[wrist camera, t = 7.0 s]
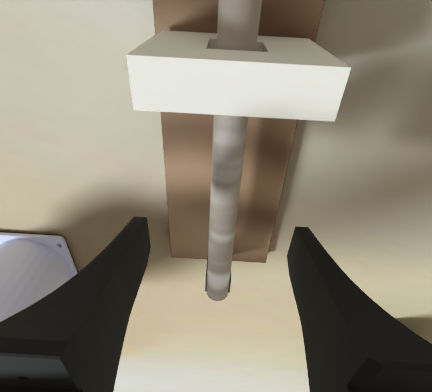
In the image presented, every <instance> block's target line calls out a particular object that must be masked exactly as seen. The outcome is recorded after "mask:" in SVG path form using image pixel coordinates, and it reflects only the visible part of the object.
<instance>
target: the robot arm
mask: <svg viewBox="0 0 432 392" xmlns="http://www.w3.org/2000/svg"><path fill="white" fill-rule="evenodd" d="M150 248H151V247H150V239H149V231H148V223H147V218H145V217H133V218H132V219H131V221H130V222H129V223H128V224H127V225H126V226H125V227H124V229H123V230H122V231H121V232H120V233H119V234H118V235H117V236H116V238H115V239H114V240H113V241H112V242H111V243H110V244H109V245H108V246H107V247H106V248H105V249H104V250H103V251H102V252H101V253H100V254H99V255H98V256H97V257H96V258H95V259H94V260H92V261H91V262H90V263H89V264H88V265H87V266H86V267H84V268H83V269H82V270H81V271H80V272H78V273H77V270H76V268H75V265H74V262H73V260H72V257H71V254H70V252H69V249H68V247H67V244H66V241H65V239H64V238H63V237H61V236H54V235H37V234H20V233H3V232H0V392H113V390H114V385H115V379H116V375H117V370H118V365H119V360H120V355H121V351H122V346H123V342H124V337H125V333H126V329H127V325H128V321H129V317H130V313H131V310H132V307H133V304H134V301H135V298H136V295H137V292H138V290H139V287H140V284H141V281H142V278H143V275H144V272H145V269H146V266H147V262H148V257H149V252H150ZM287 259H288V268H289V275H290V280H291V284H292V288H293V292H294V296H295V300H296V304H297V308H298V312H299V316H300V320H301V325H302V331H303V338H304V345H305V353H306V361H307V369H308V378H309V387H310V392H432V344H431V343H429V342H428V341H426V340H425V339H423V338H422V337H420V336H418V335H417V334H415V333H414V332H413V331H411V330H410V329H408V328H407V327H406V326H404V325H403V324H402V323H400V322H399V321H397V320H396V319H395V318H394V317H392V316H391V315H390V314H388V313H387V312H386V311H385V310H383V309H382V308H381V307H380V306H379V305H378V304H376V303H375V302H374V301H373V300H372V299H371V298H369V297H368V296H367V295H366V294H365V293H364V292H363V291H362V290H361V289H360V288H359V287H358V286H357V285H356V284H355V283H354V282H353V281H352V280H351V279H350V278H349V277H348V276H347V275H346V274H345V273H344V272H343V271H342V269H341V268H340V267H339V266H338V265H337V264H336V262H335V261H334V260H333V259H332V258H331V256H330V255H329V254H328V253H327V251H326V250H325V249H324V248H323V246H322V245H321V244H320V242H319V241H318V240H317V238H316V237H315V236H314V234H313V233H312V232H311V230H310V229H309V228H308V227H295V230H294V234H293V237H292V240H291V244H290V247H289V251H288V254H287Z"/></svg>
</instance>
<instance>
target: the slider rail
mask: <svg viewBox="0 0 432 392" xmlns="http://www.w3.org/2000/svg"><path fill="white" fill-rule="evenodd" d="M323 4H324V0H153V11H154V25H155V35H156V34H158V33H159V32H161V31H162V30H167V31H184V32H202V33H217V49H224V50H241V51H256V48H257V39H258V36H274V37H291V38H309V39H310V40H312V41H313V42H315V40H316V36H317V31H318V27H319V22H320V18H321V13H322V9H323ZM297 120H298V119H281V118H263V117H246V116H228V115H211V114H193V113H176V112H161V121H162V135H163V149H164V162H165V176H166V190H167V204H168V218H169V231H170V245H171V257H177V258H194V259H207V270H206V286H205V291H207V295H208V297H209V298H211V299H212V300H215V301H220V300H223V299H225V298H226V297H227V295H228V293H229V292H230V284H231V263H232V261H244V262H261V263H266V259H267V254H268V250H269V246H270V241H271V237H272V232H273V228H274V223H275V219H276V214H277V210H278V205H279V201H280V196H281V192H282V187H283V183H284V179H285V174H286V170H287V165H288V161H289V156H290V152H291V147H292V143H293V138H294V134H295V129H296V125H297Z"/></svg>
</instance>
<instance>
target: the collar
mask: <svg viewBox="0 0 432 392" xmlns="http://www.w3.org/2000/svg"><path fill="white" fill-rule="evenodd" d="M126 57H127V65H128V72H129V80H130V88H131V95H132V103H133V110H141V111H159V112H176V113H193V114H211V115H228V116H246V117H263V118H281V119H298V120H316V121H333V122H335V119H336V116H337V113H338V109H339V106H340V103H341V100H342V96H343V93H344V90H345V87H346V83H347V80H348V77H349V73H350V70H351V67H350V66H348V65H347V64H345V63H344V62H342V61H341V60H339V59H338V58H337V57H335V56H334V55H332V54H331V53H329V52H328V51H326V50H325V49H323V48H322V47H320V46H319V45H317V44H316V43H315V42H313V41H312V40H310V39H309V38H291V37H274V36H258V39H257V48H256V51H241V50H224V49H217V33H202V32H184V31H167V30H162V31H161V32H159V33H158V34H156V35H155V36H153V37H152V38H150V39H149V40H147V41H146V42H144V43H143V44H141V45H140V46H139V47H137V48H136V49H134V50H133V51H131V52H130V53H128V54H127V55H126Z"/></svg>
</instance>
